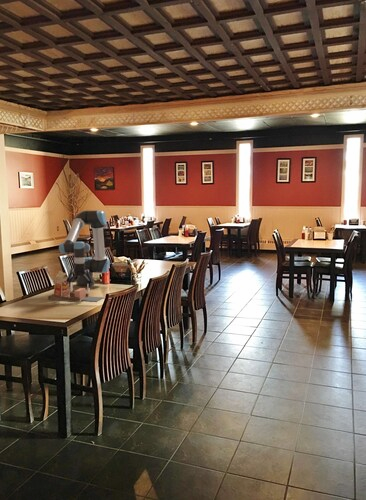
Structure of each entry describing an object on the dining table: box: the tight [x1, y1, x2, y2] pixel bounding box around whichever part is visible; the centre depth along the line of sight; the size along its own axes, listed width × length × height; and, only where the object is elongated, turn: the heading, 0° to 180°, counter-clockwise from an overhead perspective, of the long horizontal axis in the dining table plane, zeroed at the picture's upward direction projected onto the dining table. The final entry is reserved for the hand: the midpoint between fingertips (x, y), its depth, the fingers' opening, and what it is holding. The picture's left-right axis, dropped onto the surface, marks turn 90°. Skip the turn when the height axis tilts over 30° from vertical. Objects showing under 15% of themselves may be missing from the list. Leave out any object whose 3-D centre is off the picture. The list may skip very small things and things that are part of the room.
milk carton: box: [53, 270, 71, 297], centre depth 312 cm, size 9×9×20 cm
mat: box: [80, 295, 104, 303], centre depth 308 cm, size 12×12×1 cm
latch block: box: [73, 287, 87, 301], centre depth 310 cm, size 10×4×7 cm, turn 168°
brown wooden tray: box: [47, 292, 89, 302], centre depth 312 cm, size 15×24×2 cm, turn 78°
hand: (80, 291), depth 309 cm, fingers open, 13 cm apart
